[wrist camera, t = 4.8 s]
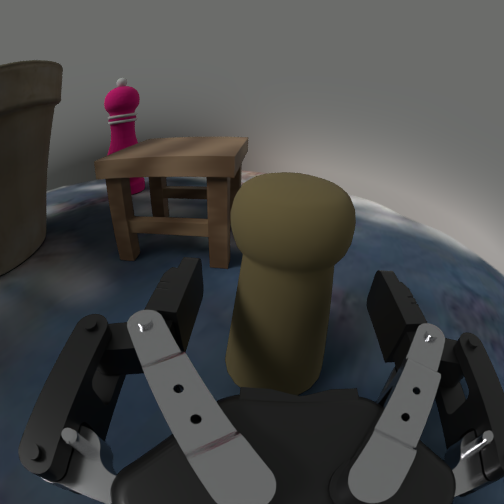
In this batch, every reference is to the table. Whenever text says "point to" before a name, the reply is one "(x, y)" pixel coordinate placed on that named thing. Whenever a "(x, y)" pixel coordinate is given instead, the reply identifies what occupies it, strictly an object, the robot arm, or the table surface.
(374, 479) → the robot arm
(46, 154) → the plant pot
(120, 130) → the pepper mill
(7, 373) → the table surface
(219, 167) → the footstool
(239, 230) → the cork
